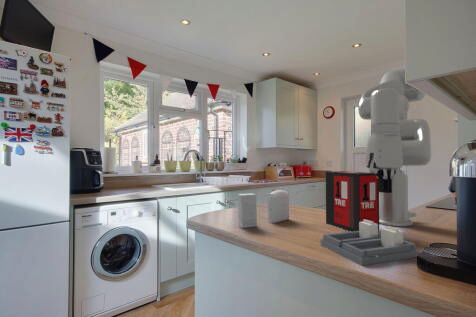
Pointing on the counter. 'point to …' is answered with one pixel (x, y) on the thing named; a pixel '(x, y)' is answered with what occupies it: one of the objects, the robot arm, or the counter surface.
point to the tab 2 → (391, 236)
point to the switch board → (367, 248)
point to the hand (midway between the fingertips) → (385, 192)
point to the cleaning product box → (351, 199)
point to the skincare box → (247, 210)
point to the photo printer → (278, 206)
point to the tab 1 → (368, 228)
